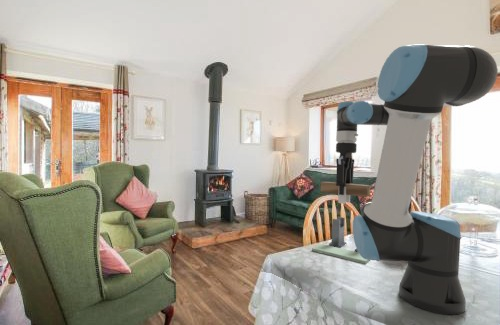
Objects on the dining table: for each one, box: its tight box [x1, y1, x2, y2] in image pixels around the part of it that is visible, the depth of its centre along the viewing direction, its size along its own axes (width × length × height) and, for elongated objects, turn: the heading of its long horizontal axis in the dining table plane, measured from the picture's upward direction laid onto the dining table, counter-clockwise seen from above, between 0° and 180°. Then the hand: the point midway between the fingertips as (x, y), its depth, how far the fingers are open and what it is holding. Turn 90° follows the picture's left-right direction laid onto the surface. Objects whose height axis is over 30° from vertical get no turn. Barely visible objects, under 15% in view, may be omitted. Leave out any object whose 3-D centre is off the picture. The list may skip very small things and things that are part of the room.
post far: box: [328, 216, 347, 248], centre depth 124 cm, size 7×5×12 cm
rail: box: [320, 181, 371, 198], centre depth 112 cm, size 4×18×4 cm, turn 52°
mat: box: [311, 243, 371, 265], centre depth 112 cm, size 8×21×1 cm, turn 52°
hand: (344, 202), depth 112 cm, fingers closed on rail, 4 cm apart
